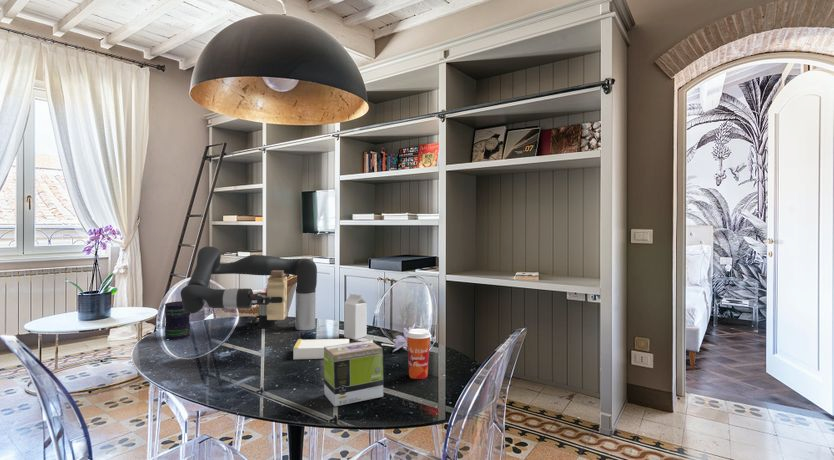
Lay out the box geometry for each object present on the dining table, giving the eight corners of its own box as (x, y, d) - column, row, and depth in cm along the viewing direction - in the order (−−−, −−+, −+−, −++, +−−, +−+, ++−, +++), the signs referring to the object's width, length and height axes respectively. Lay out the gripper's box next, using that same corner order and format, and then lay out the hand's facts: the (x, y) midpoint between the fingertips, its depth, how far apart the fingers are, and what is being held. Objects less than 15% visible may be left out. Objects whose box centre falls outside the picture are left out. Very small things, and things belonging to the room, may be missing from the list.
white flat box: (298, 349, 175) (298, 339, 175) (349, 348, 177) (349, 338, 177) (293, 359, 163) (293, 347, 163) (348, 357, 165) (348, 346, 165)
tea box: (370, 386, 137) (371, 339, 137) (383, 398, 128) (384, 347, 128) (323, 395, 130) (323, 345, 130) (333, 407, 121) (333, 354, 121)
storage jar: (162, 337, 193) (162, 302, 193) (186, 333, 199) (186, 300, 199) (168, 341, 185) (167, 306, 185) (193, 337, 192) (193, 303, 192)
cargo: (273, 280, 170) (273, 270, 169) (283, 280, 170) (283, 270, 170) (270, 282, 166) (270, 271, 165) (281, 282, 166) (281, 271, 166)
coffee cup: (403, 379, 143) (404, 333, 143) (407, 371, 151) (408, 327, 151) (429, 381, 142) (430, 334, 141) (432, 372, 150) (432, 328, 150)
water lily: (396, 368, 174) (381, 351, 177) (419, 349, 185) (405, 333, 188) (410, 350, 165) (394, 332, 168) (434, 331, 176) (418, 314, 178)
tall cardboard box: (270, 316, 171) (270, 276, 170) (286, 316, 171) (286, 276, 171) (267, 319, 165) (267, 278, 164) (283, 319, 165) (283, 278, 165)
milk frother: (274, 328, 209) (274, 297, 209) (241, 328, 209) (241, 297, 208) (282, 322, 223) (283, 292, 223) (251, 322, 223) (251, 292, 223)
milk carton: (355, 340, 190) (355, 296, 190) (343, 337, 195) (344, 294, 194) (366, 336, 196) (366, 294, 196) (355, 334, 200) (355, 292, 200)
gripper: (232, 291, 159) (280, 291, 161) (243, 285, 173) (287, 285, 175) (232, 312, 159) (280, 311, 161) (243, 304, 173) (287, 304, 175)
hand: (283, 298), depth 168 cm, fingers closed on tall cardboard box, 6 cm apart
